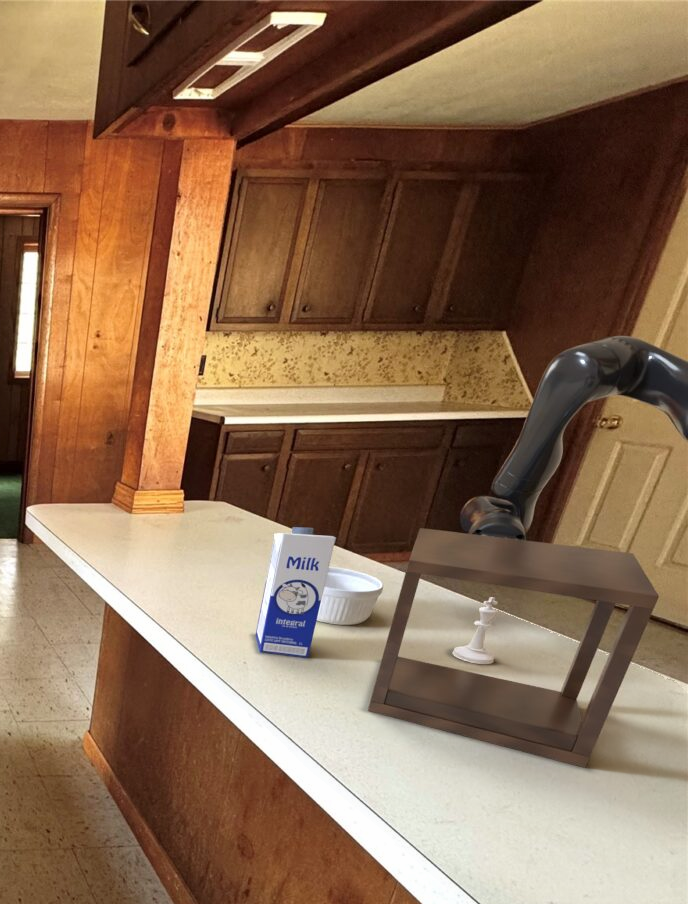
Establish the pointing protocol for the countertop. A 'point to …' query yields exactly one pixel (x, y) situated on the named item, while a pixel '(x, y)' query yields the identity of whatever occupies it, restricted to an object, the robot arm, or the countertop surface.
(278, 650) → the milk carton
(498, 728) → the rack
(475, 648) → the chess piece
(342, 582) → the ramekin
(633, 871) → the countertop surface
